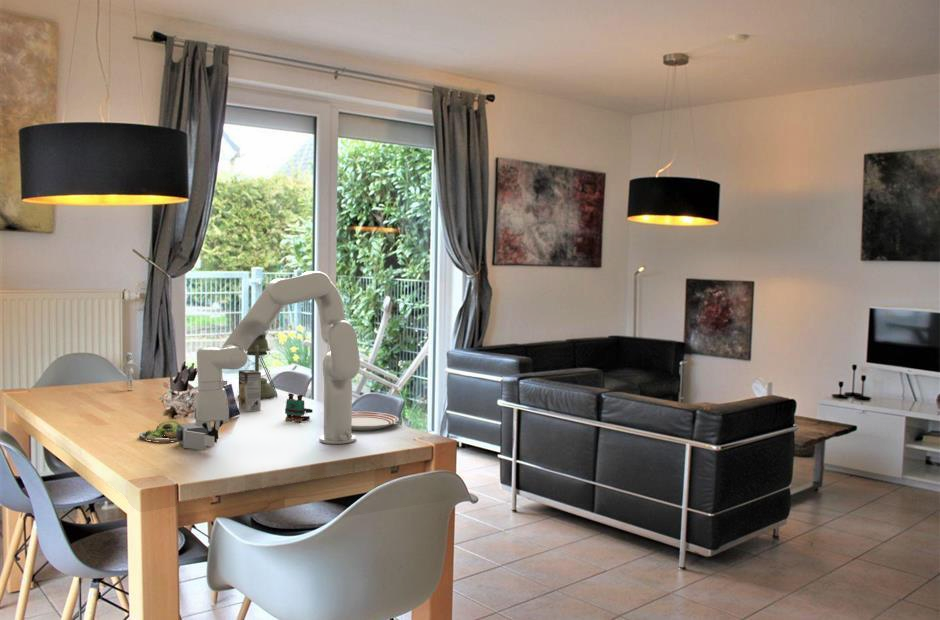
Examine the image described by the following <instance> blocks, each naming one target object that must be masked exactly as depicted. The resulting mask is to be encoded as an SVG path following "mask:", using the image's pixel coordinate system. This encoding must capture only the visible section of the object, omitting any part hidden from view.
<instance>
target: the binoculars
mask: <svg viewBox="0 0 940 620" xmlns="http://www.w3.org/2000/svg"><path fill="white" fill-rule="evenodd" d="M287 394H288V395H287V396H288V398H286V402H285V403H286V405H285V409H284V411H285V412H284V413H285V415H286V417H285V421H286V422H287V421H292V420H293V419H294V422H295V423H300V422H302V421H303V420H310V417H311V416H309V415H308V416H307V415H306V414H310V413H311V414H312V413H313V411H314V410H313V409H311V408H305V400H303V396H304V395H303V394H298V395H297V396H296V397H297V399H294V396H295V395H294V394H293V393H289V392H288V393H287Z"/></svg>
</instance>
